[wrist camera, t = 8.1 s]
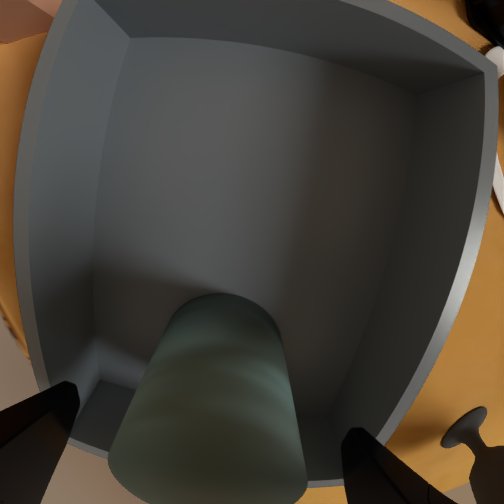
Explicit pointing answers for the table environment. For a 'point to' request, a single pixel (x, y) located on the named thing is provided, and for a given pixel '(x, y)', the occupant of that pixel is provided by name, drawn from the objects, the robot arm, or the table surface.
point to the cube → (26, 18)
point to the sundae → (480, 458)
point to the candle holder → (500, 183)
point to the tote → (252, 197)
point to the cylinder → (213, 412)
